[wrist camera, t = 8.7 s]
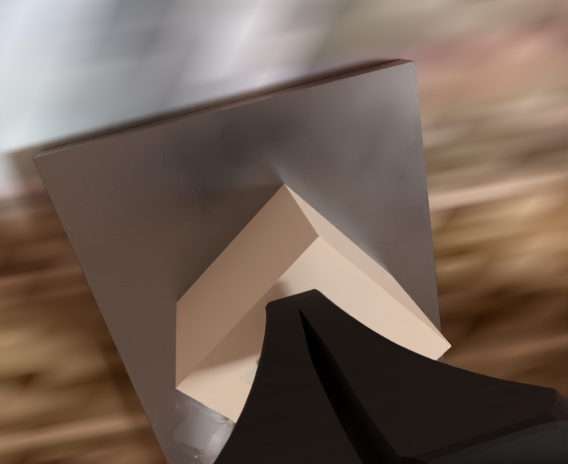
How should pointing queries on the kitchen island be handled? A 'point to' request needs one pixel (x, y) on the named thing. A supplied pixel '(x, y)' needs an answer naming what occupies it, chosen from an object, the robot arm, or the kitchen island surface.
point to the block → (278, 284)
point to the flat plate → (237, 213)
